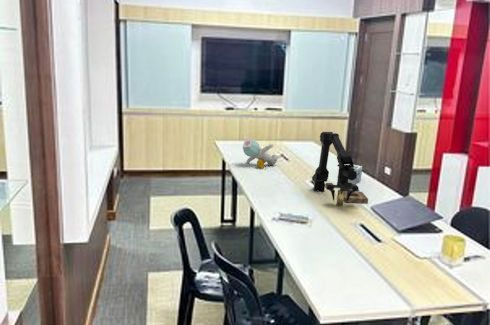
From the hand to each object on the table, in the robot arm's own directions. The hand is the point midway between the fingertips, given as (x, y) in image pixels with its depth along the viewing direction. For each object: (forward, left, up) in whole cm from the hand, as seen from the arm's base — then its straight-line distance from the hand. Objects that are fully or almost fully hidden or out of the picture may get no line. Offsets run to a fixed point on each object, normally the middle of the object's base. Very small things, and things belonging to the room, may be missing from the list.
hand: (340, 200), depth 268 cm
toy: (-44, +82, -3) cm, 93 cm away
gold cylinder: (0, 0, -2) cm, 2 cm away
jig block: (+11, +11, -2) cm, 16 cm away
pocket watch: (+14, +28, -3) cm, 32 cm away
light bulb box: (+22, +52, -3) cm, 57 cm away
